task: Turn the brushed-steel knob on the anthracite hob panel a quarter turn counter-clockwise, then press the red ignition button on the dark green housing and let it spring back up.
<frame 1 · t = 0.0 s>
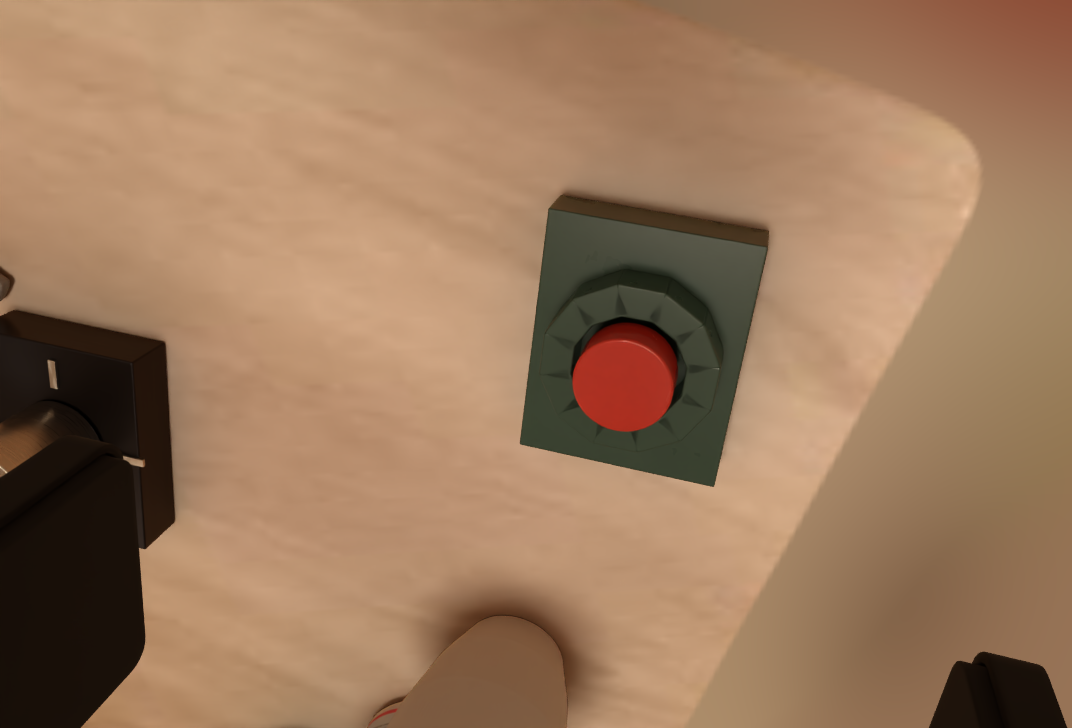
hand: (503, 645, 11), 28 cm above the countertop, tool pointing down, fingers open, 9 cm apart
hob knob: (20, 470, 42), point 5 cm above the countertop, hinge at 0.0°
cup: (513, 654, 47), on the countertop
button housing: (642, 332, 38), on the countertop
hob panel: (96, 419, 47), on the countertop
ignite button: (625, 376, 34), point 4 cm above the countertop, slide at 0.1 cm
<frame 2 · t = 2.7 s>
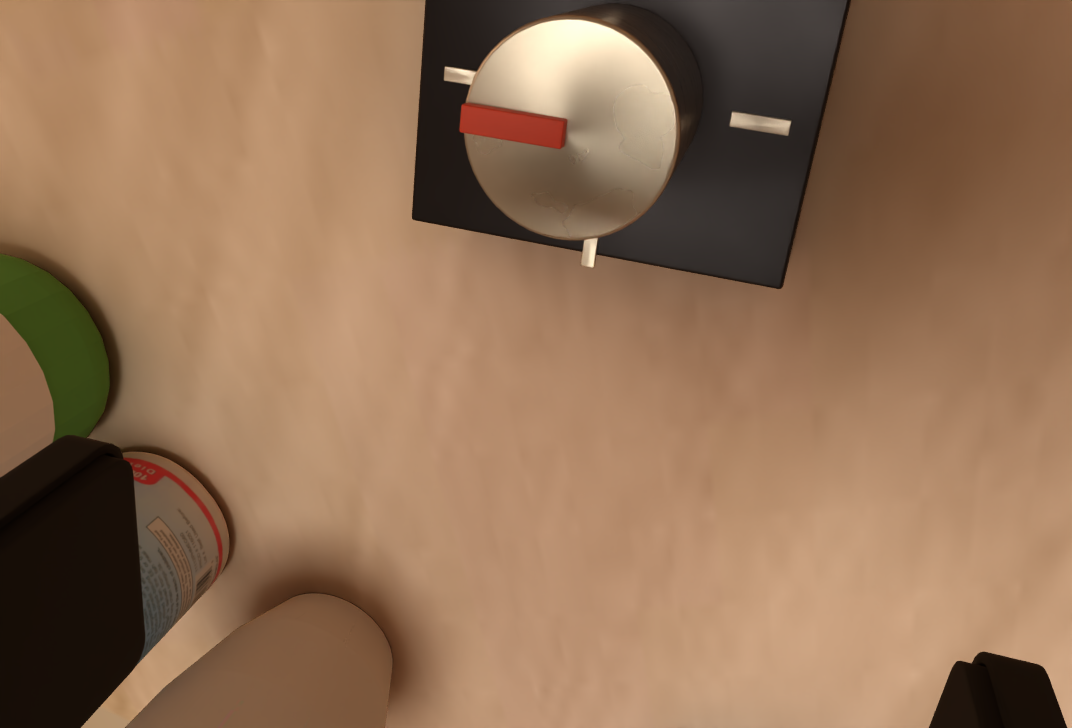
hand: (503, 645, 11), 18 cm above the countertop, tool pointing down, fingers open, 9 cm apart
hob knob: (591, 115, 21), point 5 cm above the countertop, hinge at 0.0°
wine bottle: (32, 344, 34), on the countertop
cup: (333, 645, 36), on the countertop
pill bottle: (165, 515, 36), on the countertop
hob panel: (628, 86, 26), on the countertop
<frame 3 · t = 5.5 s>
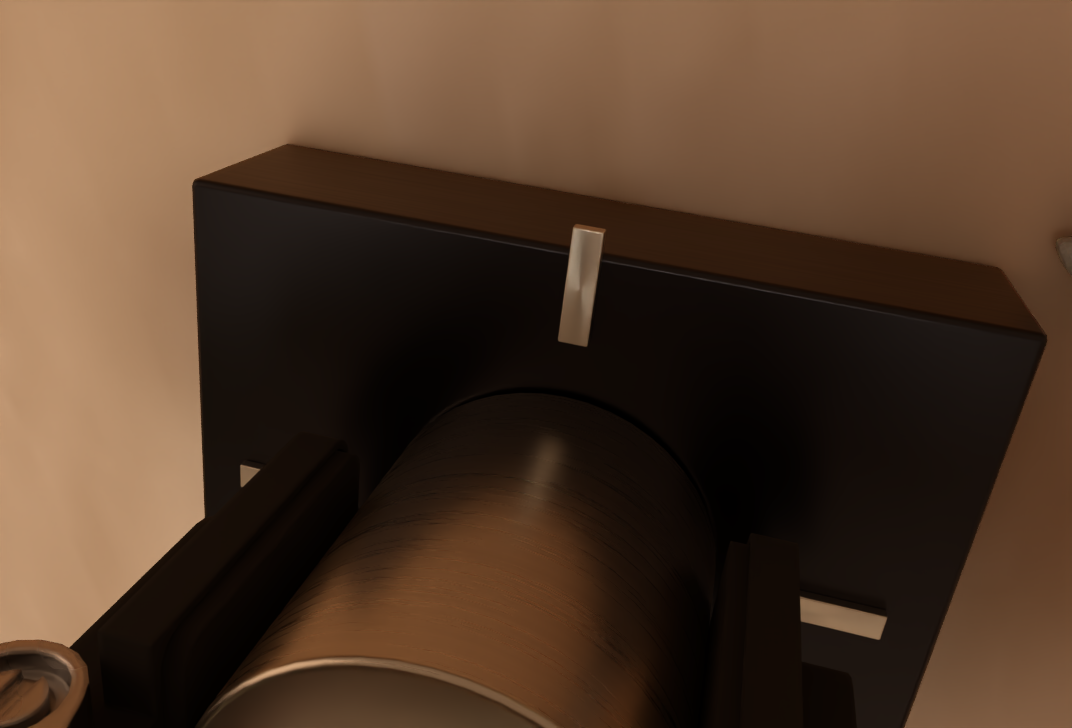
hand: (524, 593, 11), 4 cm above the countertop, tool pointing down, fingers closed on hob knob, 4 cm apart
hob knob: (489, 682, 10), point 5 cm above the countertop, hinge at 0.1°, touching gripper
hob panel: (582, 452, 15), on the countertop
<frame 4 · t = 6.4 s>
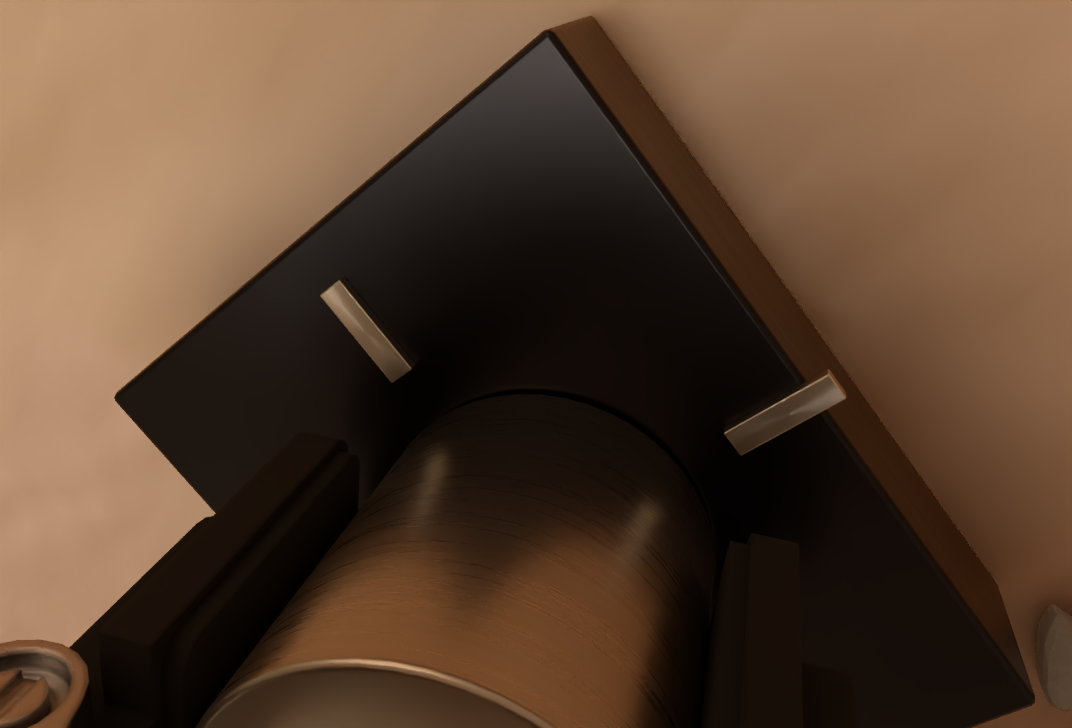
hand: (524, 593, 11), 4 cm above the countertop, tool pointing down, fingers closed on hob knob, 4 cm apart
hob knob: (488, 683, 10), point 5 cm above the countertop, hinge at 45.1°, touching gripper
hob panel: (581, 453, 15), on the countertop
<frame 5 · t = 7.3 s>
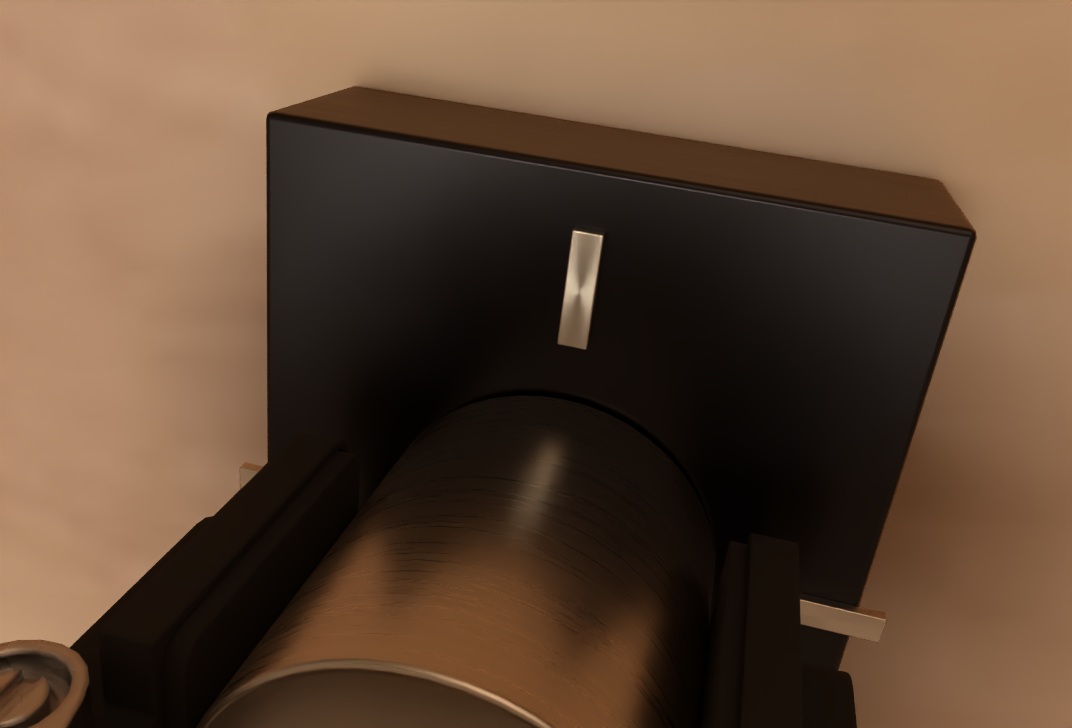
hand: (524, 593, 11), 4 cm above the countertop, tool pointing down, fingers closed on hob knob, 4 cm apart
hob knob: (488, 684, 10), point 5 cm above the countertop, hinge at 90.3°, touching gripper
hob panel: (581, 454, 15), on the countertop
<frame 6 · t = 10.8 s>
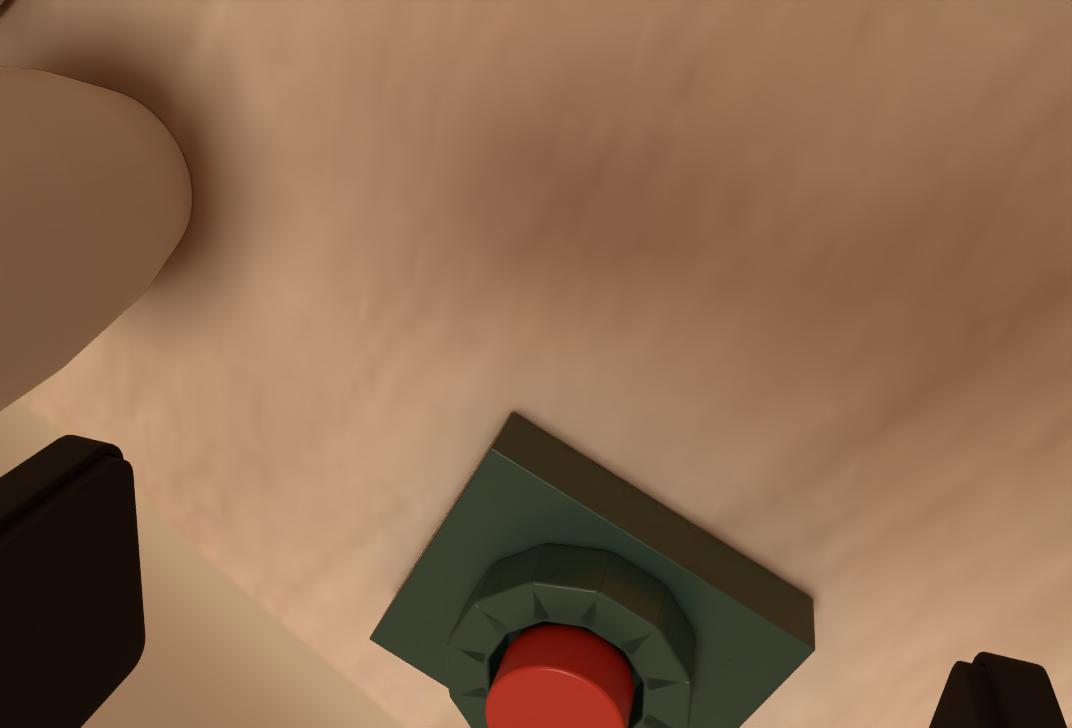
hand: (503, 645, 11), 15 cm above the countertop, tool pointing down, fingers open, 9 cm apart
cup: (116, 177, 27), on the countertop
button housing: (591, 596, 29), on the countertop
ignite button: (560, 701, 25), point 4 cm above the countertop, slide at 0.1 cm
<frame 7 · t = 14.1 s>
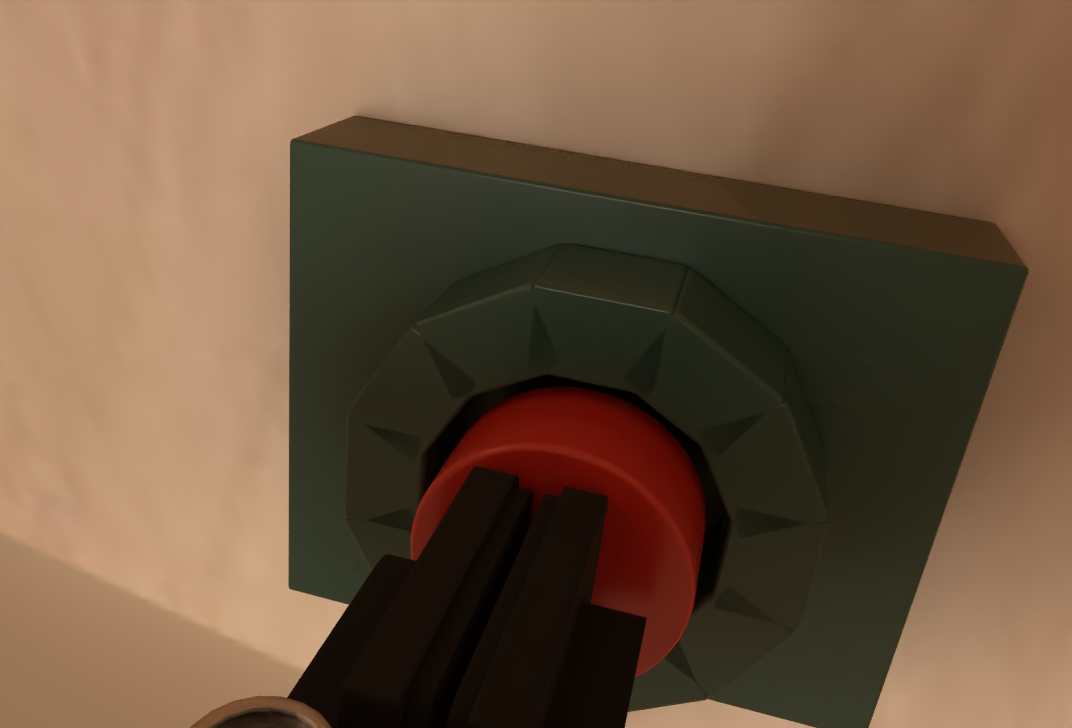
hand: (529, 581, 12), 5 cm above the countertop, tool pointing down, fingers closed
button housing: (617, 396, 16), on the countertop
ignite button: (561, 537, 12), point 4 cm above the countertop, slide at 0.0 cm, touching gripper
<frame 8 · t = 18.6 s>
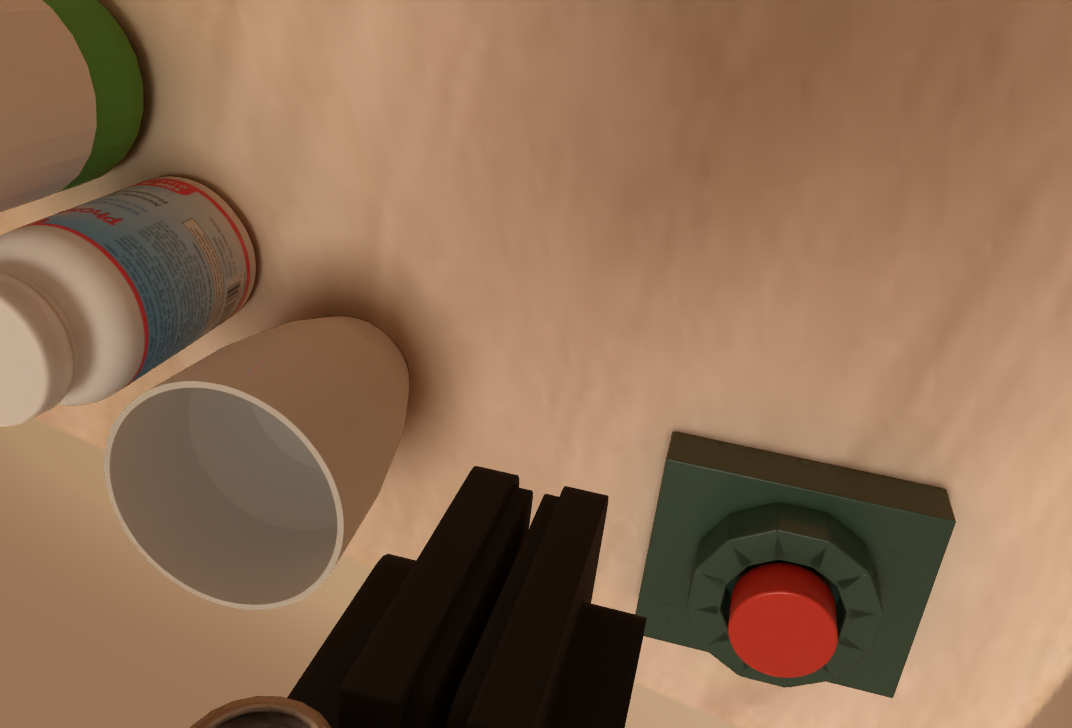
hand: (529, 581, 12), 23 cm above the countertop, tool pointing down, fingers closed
wine bottle: (69, 76, 37), on the countertop
cup: (353, 372, 39), on the countertop
pill bottle: (194, 248, 38), on the countertop
button housing: (782, 548, 37), on the countertop
ignite button: (782, 620, 33), point 4 cm above the countertop, slide at 0.1 cm
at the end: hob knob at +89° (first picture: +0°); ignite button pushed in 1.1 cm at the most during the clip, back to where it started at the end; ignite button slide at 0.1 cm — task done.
